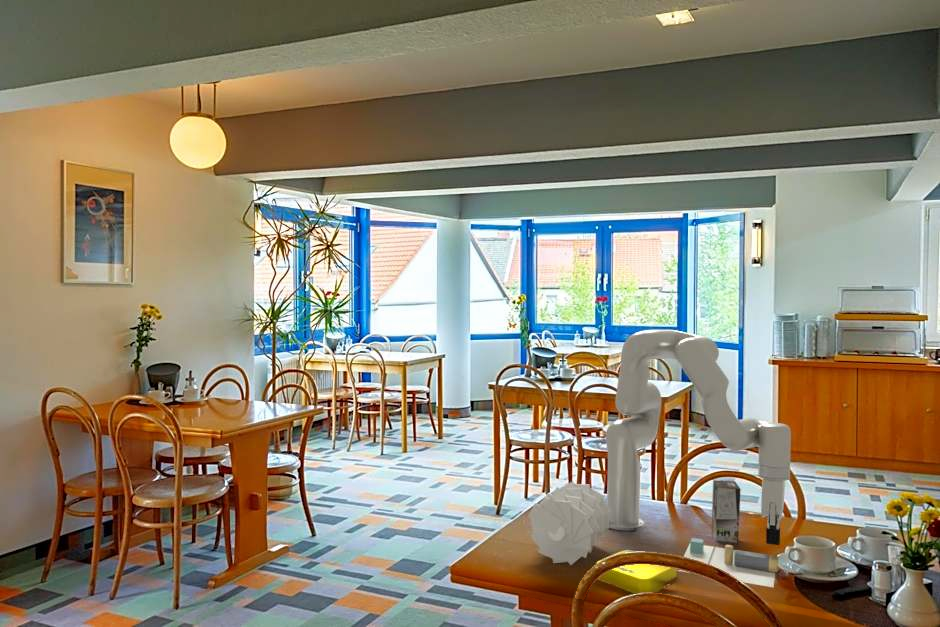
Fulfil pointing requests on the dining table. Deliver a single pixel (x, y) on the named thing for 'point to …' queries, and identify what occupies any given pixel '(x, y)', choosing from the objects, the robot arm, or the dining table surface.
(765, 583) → the latch board
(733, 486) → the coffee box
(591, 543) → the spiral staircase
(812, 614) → the dining table surface
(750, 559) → the bar
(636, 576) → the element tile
